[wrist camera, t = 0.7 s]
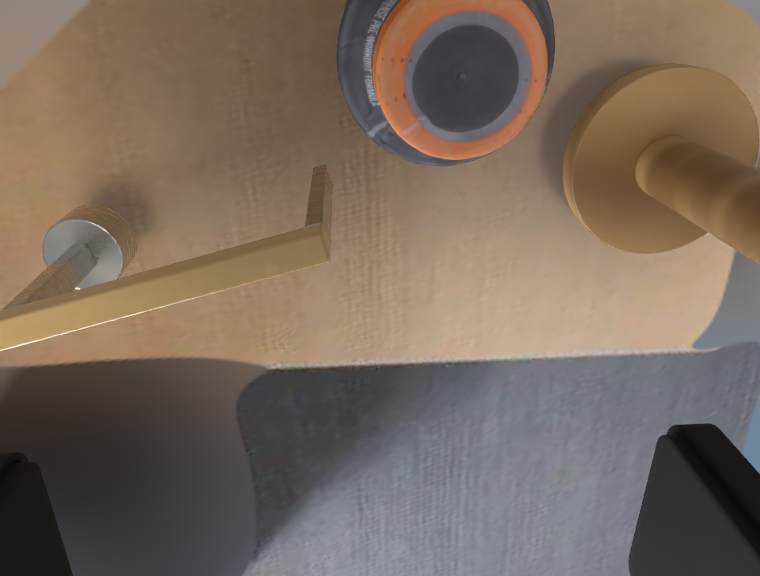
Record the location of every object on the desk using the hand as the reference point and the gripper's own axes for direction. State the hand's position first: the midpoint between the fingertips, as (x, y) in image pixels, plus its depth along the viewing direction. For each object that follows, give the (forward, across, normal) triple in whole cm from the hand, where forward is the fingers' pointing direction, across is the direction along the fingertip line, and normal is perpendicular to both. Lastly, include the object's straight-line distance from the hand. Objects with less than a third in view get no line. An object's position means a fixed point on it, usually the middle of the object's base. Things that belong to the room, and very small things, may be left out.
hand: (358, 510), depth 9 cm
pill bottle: (+19, -3, -6) cm, 20 cm away
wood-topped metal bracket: (+19, +7, +1) cm, 20 cm away
